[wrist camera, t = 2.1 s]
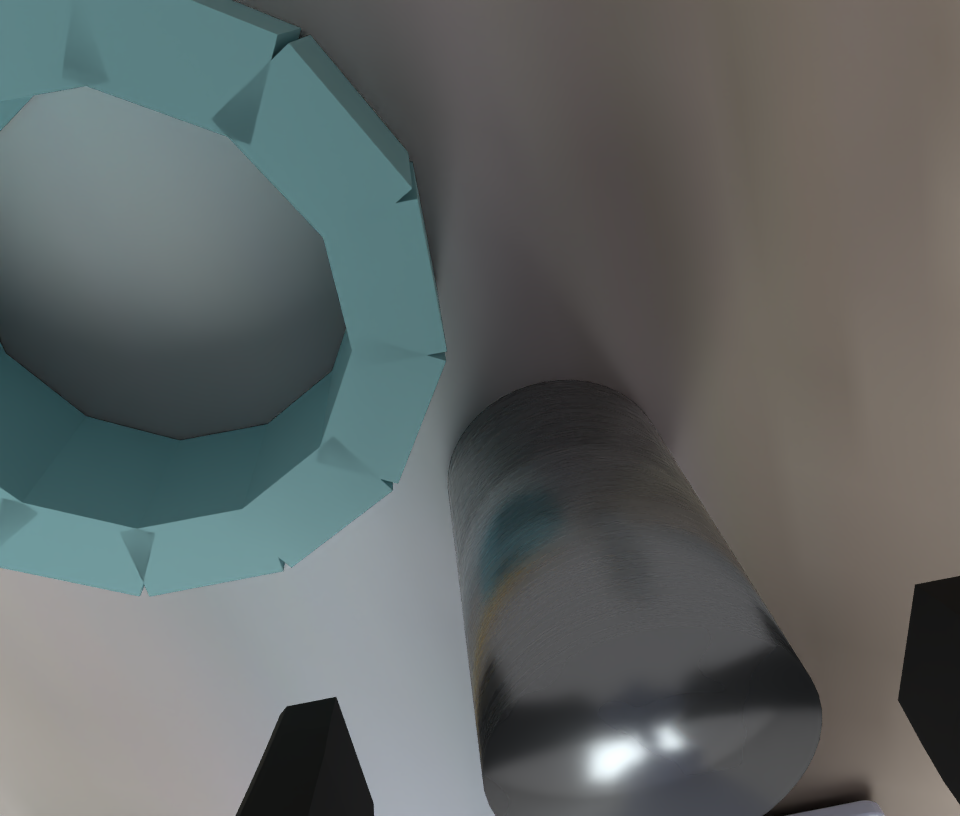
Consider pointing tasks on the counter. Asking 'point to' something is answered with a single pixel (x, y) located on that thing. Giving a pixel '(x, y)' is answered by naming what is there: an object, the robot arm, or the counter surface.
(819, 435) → the counter surface
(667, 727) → the steel peg
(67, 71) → the teal bead ring
